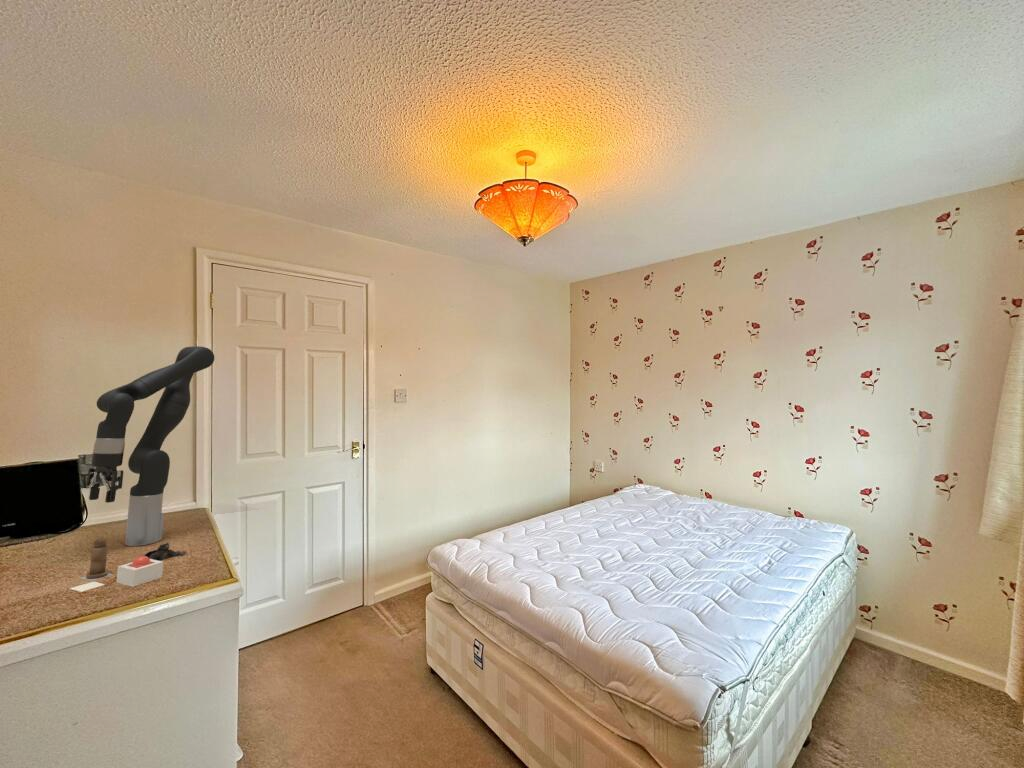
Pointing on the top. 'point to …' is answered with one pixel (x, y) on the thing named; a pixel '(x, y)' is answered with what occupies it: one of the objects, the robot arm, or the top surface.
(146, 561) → the popper button
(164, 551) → the stuffed animal
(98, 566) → the pawn
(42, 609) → the top surface
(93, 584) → the game board
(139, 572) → the popper housing
